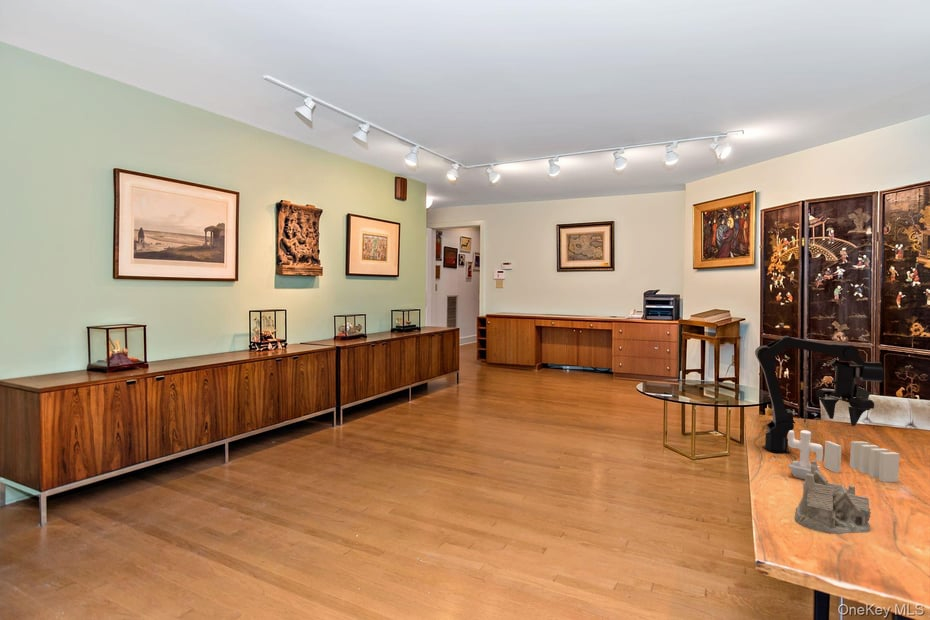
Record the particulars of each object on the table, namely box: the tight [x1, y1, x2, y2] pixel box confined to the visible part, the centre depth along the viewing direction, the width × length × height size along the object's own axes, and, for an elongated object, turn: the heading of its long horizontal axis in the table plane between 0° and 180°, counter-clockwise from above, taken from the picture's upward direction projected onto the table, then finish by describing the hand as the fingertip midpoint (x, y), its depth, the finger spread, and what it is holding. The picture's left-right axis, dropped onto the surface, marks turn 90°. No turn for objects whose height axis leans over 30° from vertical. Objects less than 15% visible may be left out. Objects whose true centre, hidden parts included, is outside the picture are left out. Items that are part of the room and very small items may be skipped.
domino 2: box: [849, 440, 870, 470], centre depth 169 cm, size 5×2×9 cm, turn 94°
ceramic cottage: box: [794, 459, 872, 534], centre depth 129 cm, size 16×16×15 cm
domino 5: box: [878, 451, 901, 483], centre depth 158 cm, size 5×2×9 cm, turn 94°
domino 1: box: [823, 440, 843, 474], centre depth 168 cm, size 5×2×9 cm, turn 4°
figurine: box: [787, 429, 824, 481], centre depth 161 cm, size 7×9×15 cm
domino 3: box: [858, 444, 880, 474], centre depth 166 cm, size 5×2×9 cm, turn 94°
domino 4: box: [868, 448, 890, 479], centre depth 162 cm, size 5×2×9 cm, turn 94°
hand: (842, 422), depth 179 cm, fingers open, 9 cm apart
